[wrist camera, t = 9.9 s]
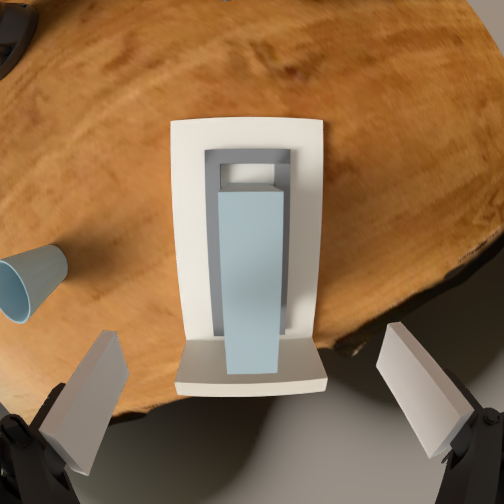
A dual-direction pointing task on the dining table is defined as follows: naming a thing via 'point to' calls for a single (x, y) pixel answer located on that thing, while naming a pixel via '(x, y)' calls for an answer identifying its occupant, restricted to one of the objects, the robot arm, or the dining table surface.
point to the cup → (30, 280)
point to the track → (208, 245)
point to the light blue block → (251, 275)
